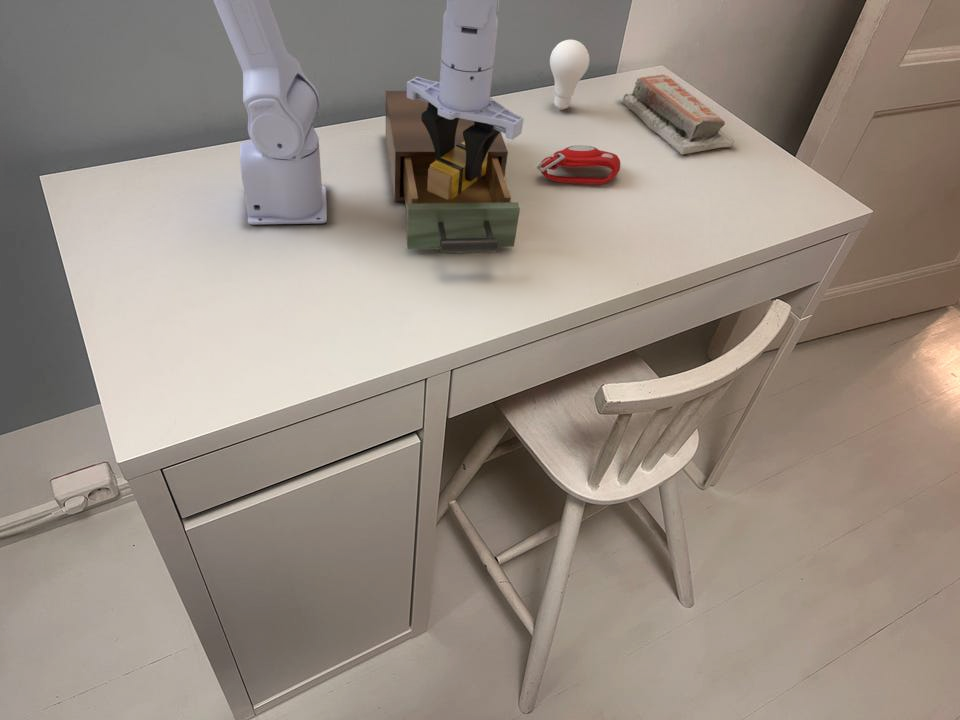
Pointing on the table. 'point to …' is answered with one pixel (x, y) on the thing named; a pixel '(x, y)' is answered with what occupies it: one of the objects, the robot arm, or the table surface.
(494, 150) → the cabinet
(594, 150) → the tracker holder
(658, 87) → the packaged product
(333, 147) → the table surface
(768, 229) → the table surface
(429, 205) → the drawer
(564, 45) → the lightbulb
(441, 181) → the pencil bundle
